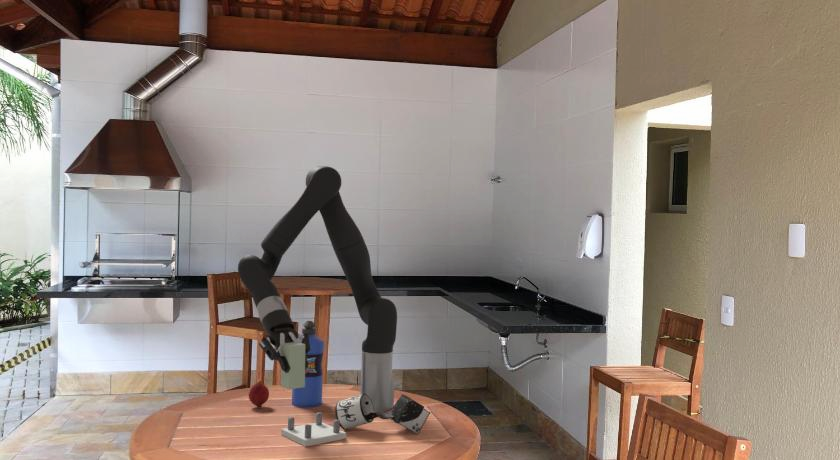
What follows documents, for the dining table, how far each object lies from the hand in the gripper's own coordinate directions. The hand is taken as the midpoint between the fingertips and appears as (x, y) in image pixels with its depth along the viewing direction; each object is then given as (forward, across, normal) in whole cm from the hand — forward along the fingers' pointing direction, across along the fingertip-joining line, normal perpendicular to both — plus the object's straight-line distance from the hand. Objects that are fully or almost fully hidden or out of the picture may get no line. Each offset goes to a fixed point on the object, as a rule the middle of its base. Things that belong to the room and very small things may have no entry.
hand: (296, 369), depth 187 cm
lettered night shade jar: (+17, +22, +8) cm, 29 cm away
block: (+2, 0, +5) cm, 5 cm away
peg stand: (+14, +4, +11) cm, 18 cm away
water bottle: (-7, +20, +32) cm, 39 cm away
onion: (-10, +6, +35) cm, 37 cm away
